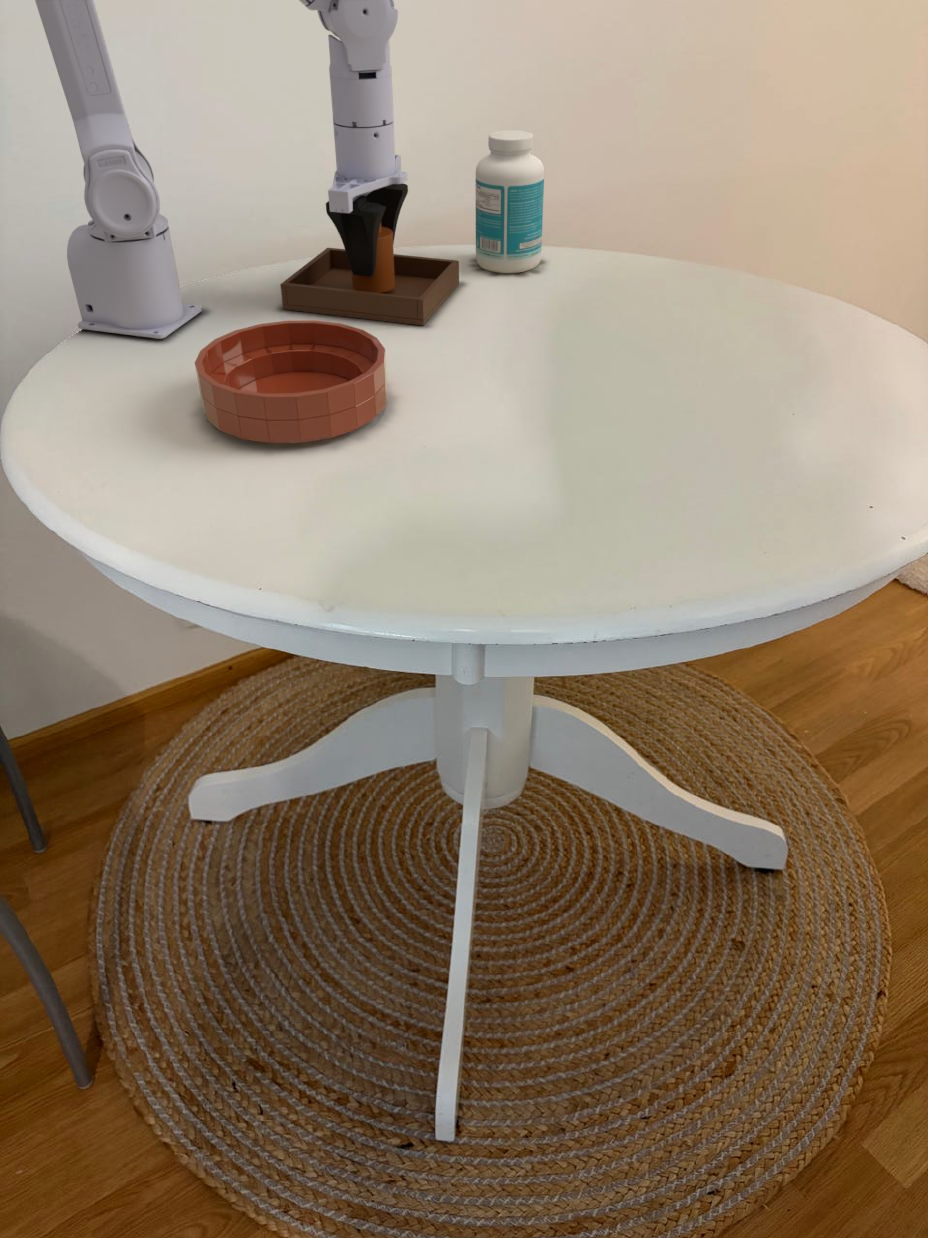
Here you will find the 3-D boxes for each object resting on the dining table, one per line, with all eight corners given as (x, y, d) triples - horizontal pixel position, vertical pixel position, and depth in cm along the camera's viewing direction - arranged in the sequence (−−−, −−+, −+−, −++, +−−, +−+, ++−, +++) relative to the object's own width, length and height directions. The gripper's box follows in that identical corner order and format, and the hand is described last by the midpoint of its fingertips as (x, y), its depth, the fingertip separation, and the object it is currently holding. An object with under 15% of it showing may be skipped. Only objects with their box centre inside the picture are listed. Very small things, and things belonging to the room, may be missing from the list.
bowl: (170, 434, 76) (159, 382, 74) (255, 360, 88) (248, 312, 85) (347, 461, 73) (342, 407, 70) (411, 380, 84) (410, 331, 82)
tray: (282, 309, 98) (279, 283, 96) (329, 270, 107) (327, 247, 105) (423, 325, 94) (422, 299, 93) (459, 284, 103) (459, 260, 102)
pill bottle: (541, 255, 111) (548, 127, 103) (539, 276, 105) (546, 143, 97) (477, 252, 112) (479, 125, 103) (472, 274, 106) (472, 141, 98)
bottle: (346, 291, 99) (340, 210, 94) (362, 277, 102) (356, 198, 97) (386, 295, 98) (382, 213, 93) (400, 281, 101) (397, 201, 96)
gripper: (375, 141, 84) (383, 294, 92) (427, 108, 95) (430, 248, 103) (302, 135, 85) (316, 287, 94) (361, 104, 96) (369, 242, 105)
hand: (371, 266), depth 99 cm, fingers closed on bottle, 4 cm apart
